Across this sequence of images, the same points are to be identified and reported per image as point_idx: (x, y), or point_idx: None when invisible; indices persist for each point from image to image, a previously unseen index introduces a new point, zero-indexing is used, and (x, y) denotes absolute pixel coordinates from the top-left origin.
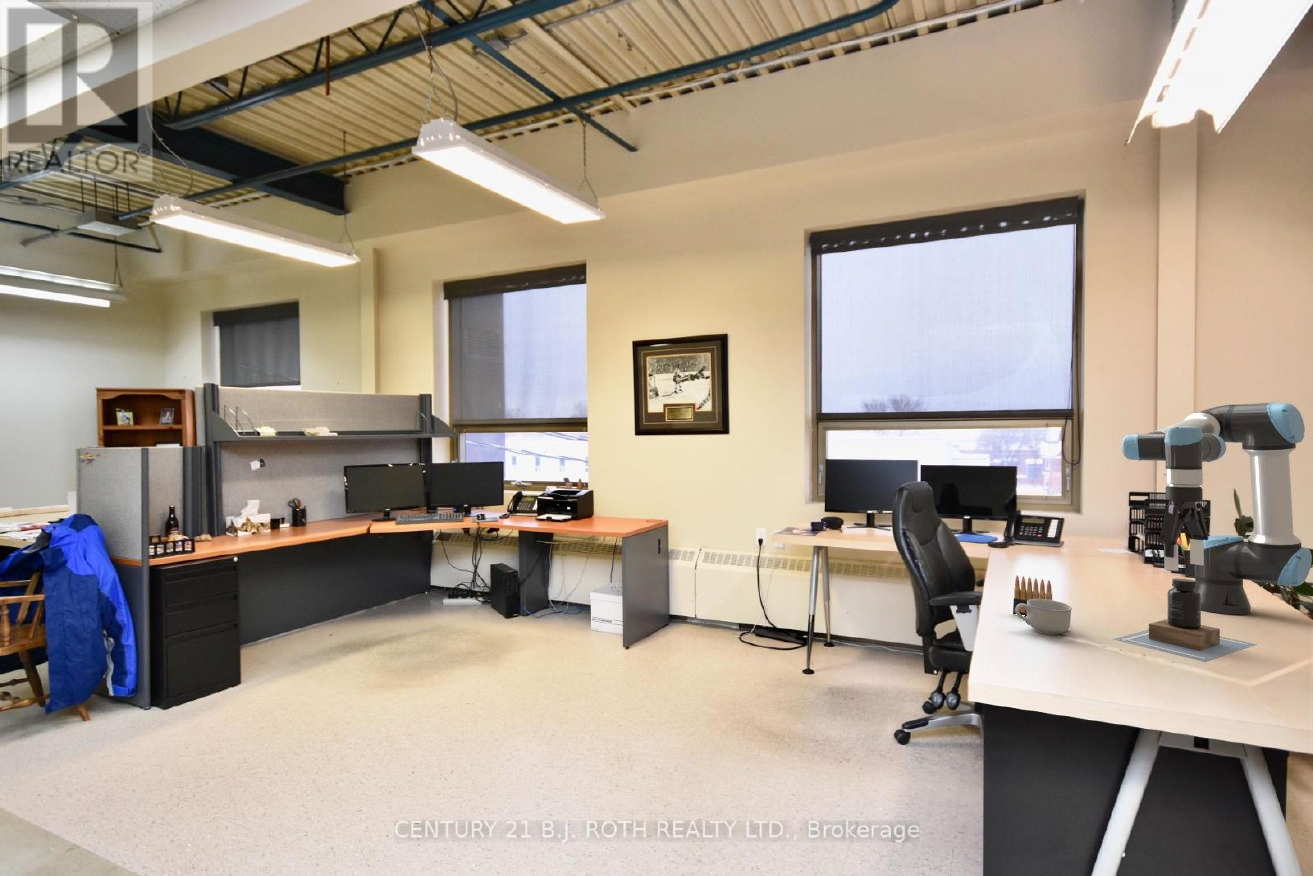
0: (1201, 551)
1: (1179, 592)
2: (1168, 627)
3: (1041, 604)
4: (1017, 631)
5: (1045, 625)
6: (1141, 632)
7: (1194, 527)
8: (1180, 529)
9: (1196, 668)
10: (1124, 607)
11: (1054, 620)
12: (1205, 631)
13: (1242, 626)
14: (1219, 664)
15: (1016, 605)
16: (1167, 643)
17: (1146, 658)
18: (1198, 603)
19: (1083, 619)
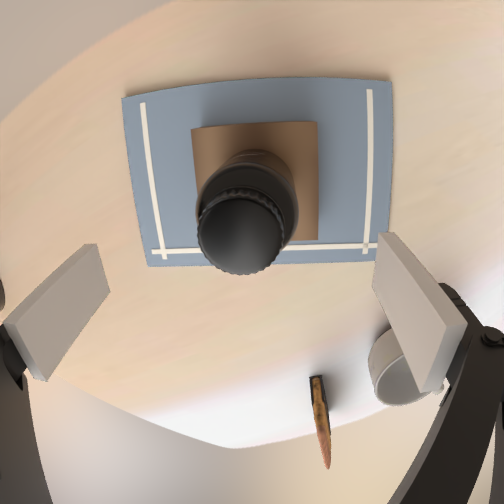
0: (56, 285)
1: (292, 214)
2: (311, 198)
3: (383, 394)
4: None
5: None
6: None
7: (10, 437)
8: (441, 471)
9: (418, 88)
10: (94, 358)
11: None
12: (261, 130)
13: (14, 207)
14: (346, 69)
15: (329, 422)
16: None
17: (434, 171)
18: (253, 159)
19: (246, 362)
